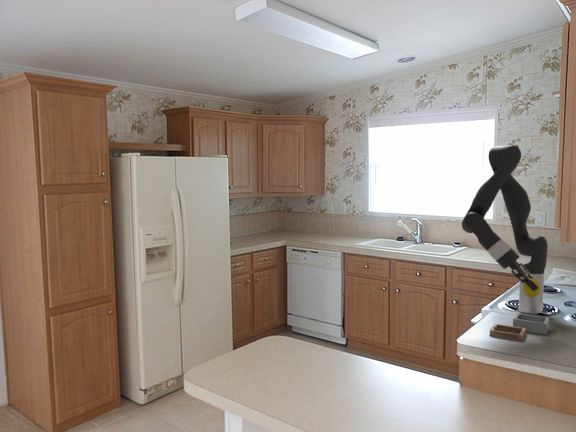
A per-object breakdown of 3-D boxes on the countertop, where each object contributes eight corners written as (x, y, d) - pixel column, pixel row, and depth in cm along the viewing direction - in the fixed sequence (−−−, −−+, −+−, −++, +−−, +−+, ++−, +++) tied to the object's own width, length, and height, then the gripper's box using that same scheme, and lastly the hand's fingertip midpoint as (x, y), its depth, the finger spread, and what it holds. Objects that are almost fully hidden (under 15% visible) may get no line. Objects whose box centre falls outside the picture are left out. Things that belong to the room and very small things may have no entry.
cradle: (494, 328, 171) (494, 323, 171) (525, 333, 166) (525, 328, 166) (489, 335, 163) (489, 330, 163) (522, 341, 157) (522, 335, 157)
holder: (516, 322, 180) (517, 312, 180) (548, 327, 174) (549, 317, 174) (512, 329, 171) (513, 318, 171) (546, 334, 165) (546, 323, 165)
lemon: (524, 296, 176) (525, 275, 175) (540, 298, 172) (541, 277, 172) (521, 298, 171) (522, 277, 171) (537, 301, 168) (538, 279, 167)
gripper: (508, 249, 169) (543, 285, 163) (513, 245, 181) (546, 278, 175) (492, 262, 172) (526, 298, 166) (498, 257, 184) (530, 290, 178)
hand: (536, 288), depth 170 cm, fingers closed on lemon, 5 cm apart
